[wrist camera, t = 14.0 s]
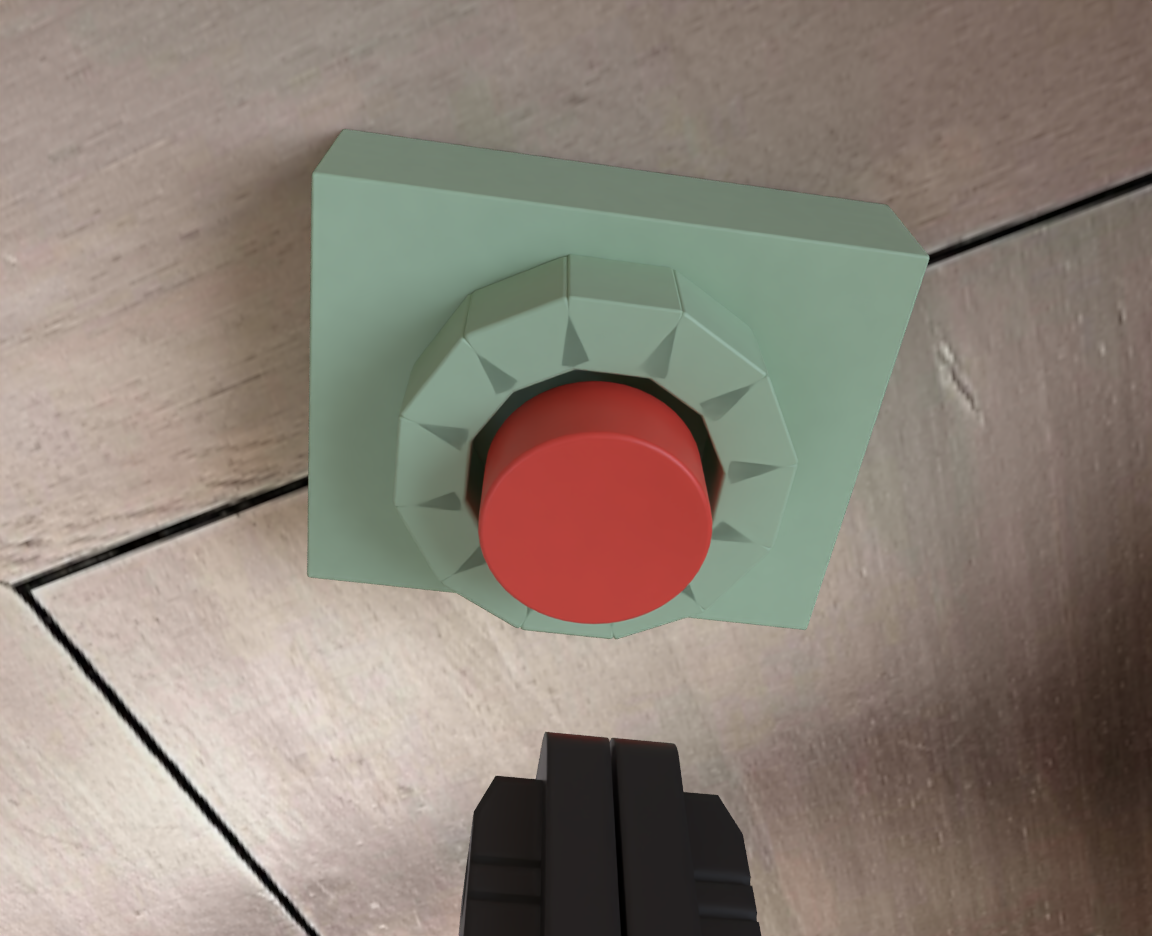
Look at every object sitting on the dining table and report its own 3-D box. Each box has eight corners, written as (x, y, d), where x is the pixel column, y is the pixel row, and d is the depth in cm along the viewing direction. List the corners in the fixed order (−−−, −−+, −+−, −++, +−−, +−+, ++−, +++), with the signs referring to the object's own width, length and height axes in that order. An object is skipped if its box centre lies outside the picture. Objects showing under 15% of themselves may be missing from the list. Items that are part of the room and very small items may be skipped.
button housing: (332, 501, 23) (285, 639, 19) (342, 127, 19) (284, 208, 15) (784, 552, 24) (825, 694, 20) (888, 204, 20) (967, 300, 16)
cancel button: (475, 549, 19) (467, 614, 17) (496, 365, 17) (489, 419, 15) (678, 571, 19) (688, 637, 17) (721, 392, 17) (736, 448, 15)
